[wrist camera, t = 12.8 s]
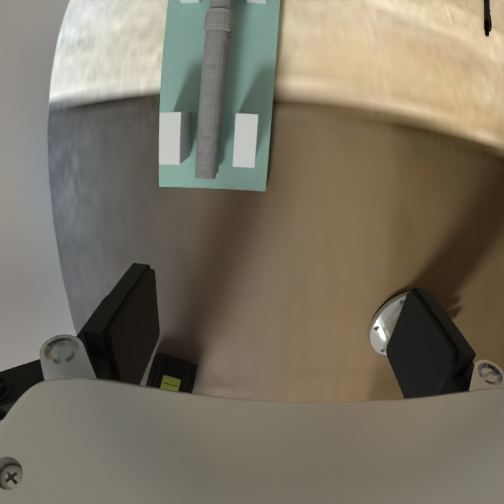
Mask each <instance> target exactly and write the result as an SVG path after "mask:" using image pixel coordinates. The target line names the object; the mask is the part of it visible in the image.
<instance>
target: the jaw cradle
mask: <svg viewBox="0 0 504 504" xmlns="http://www.w3.org/2000/svg"><path fill="white" fill-rule="evenodd" d="M209 6H210V0H169V1H168V9H167V18H166V27H165V37H164V48H163V60H162V75H161V92H160V118H159V187H192V188H216V189H235V190H251V191H266V180H267V167H268V155H269V143H270V130H271V118H272V105H273V92H274V79H275V66H276V52H277V39H278V25H279V11H280V0H234V4H233V13H232V17H233V18H234V29H233V34H232V38H230V45H229V55H228V64H227V74H226V85H225V96H224V107H223V119H222V131H221V144H220V158H219V172H218V173H217V174H216V178H215V179H198V178H195V165H196V144H197V127H198V111H199V98H200V85H201V73H202V62H203V52H204V42H205V33H206V31H204V23H205V16H206V11H207V10H208V9H209Z"/></svg>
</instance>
